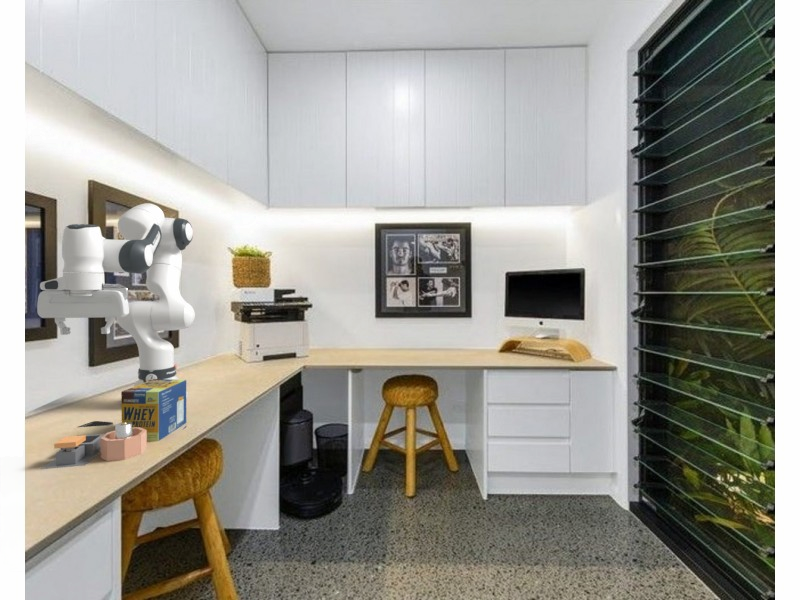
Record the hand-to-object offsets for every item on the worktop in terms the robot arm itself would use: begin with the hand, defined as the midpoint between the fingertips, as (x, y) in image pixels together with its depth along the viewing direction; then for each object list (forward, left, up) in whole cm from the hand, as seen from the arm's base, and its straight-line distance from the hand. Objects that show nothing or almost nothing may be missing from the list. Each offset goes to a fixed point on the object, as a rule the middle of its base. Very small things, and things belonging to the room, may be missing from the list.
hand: (85, 334), depth 107 cm
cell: (+10, +13, -31) cm, 35 cm away
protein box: (-5, +15, -32) cm, 36 cm away
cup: (+10, +13, -32) cm, 35 cm away
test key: (+13, +2, -29) cm, 32 cm away
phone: (-13, -8, -32) cm, 35 cm away
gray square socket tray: (+10, +2, -31) cm, 33 cm away
